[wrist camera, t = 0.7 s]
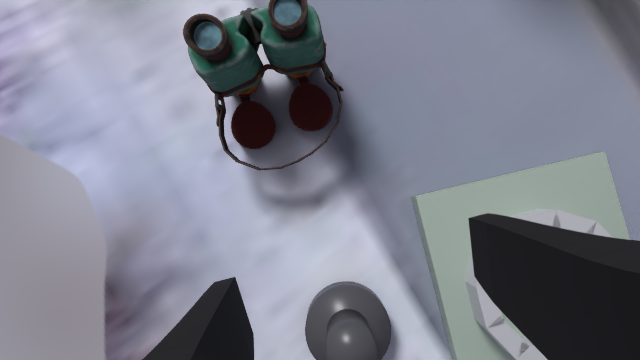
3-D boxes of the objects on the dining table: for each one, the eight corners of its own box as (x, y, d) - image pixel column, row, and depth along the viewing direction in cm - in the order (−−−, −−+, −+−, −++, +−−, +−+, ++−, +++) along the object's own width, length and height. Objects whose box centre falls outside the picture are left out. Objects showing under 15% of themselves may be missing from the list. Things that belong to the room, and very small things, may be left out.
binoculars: (207, 188, 19) (146, -2, 19) (246, 180, 30) (207, 58, 29) (375, 137, 19) (317, -55, 19) (354, 146, 30) (316, 24, 29)
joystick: (395, 352, 28) (413, 393, 22) (317, 370, 28) (314, 416, 22) (375, 273, 28) (388, 292, 22) (298, 291, 28) (291, 315, 22)
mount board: (649, 364, 28) (696, 387, 24) (464, 408, 28) (484, 437, 24) (590, 154, 29) (627, 147, 25) (411, 196, 29) (422, 196, 25)
